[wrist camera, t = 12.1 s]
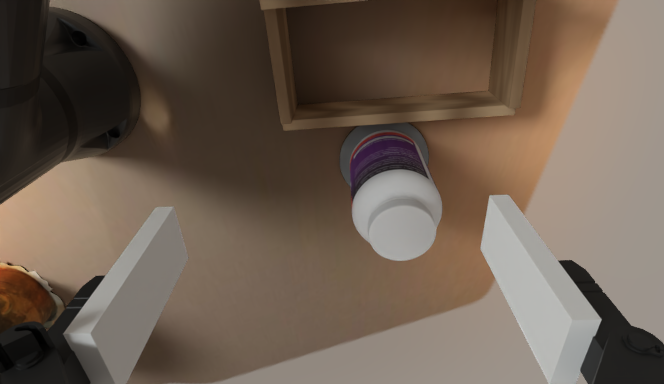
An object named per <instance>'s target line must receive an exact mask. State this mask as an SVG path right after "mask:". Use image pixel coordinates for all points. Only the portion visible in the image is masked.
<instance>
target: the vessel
mask: <svg viewBox="0 0 664 384" xmlns="http://www.w3.org/2000/svg"><path fill="white" fill-rule="evenodd" d="M50 290H52V288H51V287H49V286H48V282H47V281H45V280H43V279H42V278H41V277H40V276H39V275H38V274H37V273H36V271H31V272H27V271H26V270H25V269H24V268H22V267H21V266H9V265H7V264H5V263H0V334H1V333H2V332H4V331H5V330H7V329H9V328H11V327H13V326H15V325H18V324H21V323H24V322H31V321H35V322H39V323H41V324H42V325H43V326H44V328H50V327H51V326H52V325H53V324H54V321H53V320H57V319H58V317H59V316H60V315H61V313H62V312H63V311H64V310H65V308H64V305H63V302H62V300H61V299H60V298H59V297H58V296H57V295H55V294H53V293H51V292H49V291H50Z"/></svg>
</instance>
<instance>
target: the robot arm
mask: <svg viewBox="0 0 664 384" xmlns="http://www.w3.org/2000/svg"><path fill="white" fill-rule="evenodd" d="M49 3H50V0H0V204H2V203H3V202H5V201H6V200H8V199H9V198H10V197H12V196H13V195H15V194H16V193H18V192H19V191H20V190H22V189H23V188H25V187H26V186H28V185H29V184H31V183H32V182H33V181H35V180H36V179H38V178H39V177H41V176H42V175H43V174H45V173H46V172H48V171H49V170H51V169H52V168H53V167H55V166H56V165H58V164H59V163H61V162H66V161H71V160H77V159H82V158H88V157H93V156H97V155H100V154H102V153H105V152H107V151H109V150H110V149H112V148H113V147H115V146H116V145H117V144H119V143H120V142H121V141H123V140H124V139H125V138H126V137H127V136H128V135H129V134H130V133H131V131H132V130H133V128H134V126H135V124H136V122H137V120H138V116H139V112H140V90H139V85H138V82H137V78H136V75H135V73H134V70H133V68H132V66H131V64H130V62H129V61H128V59H127V57H126V56H125V54H124V53H123V51H122V50H121V49H120V47H119V46H118V45H117V44H116V43H115V41H114V40H113V39H112V38H111V37H110V36H109V35H108V34H107V33H105V32H104V31H103V30H102V29H101V28H99V27H98V26H97V25H95V24H94V23H92V22H91V21H89V20H87V19H86V18H84V17H82V16H80V15H78V14H75V13H73V12H70V11H67V10H64V9H60V8H55V7H49ZM480 249H481V251H482V253H483V255H484V257H485V259H486V261H487V263H488V265H489V267H490V269H491V271H492V273H493V275H494V277H495V279H496V281H497V283H498V284H499V286H500V288H501V290H502V292H503V294H504V296H505V298H506V300H507V302H508V304H509V306H510V308H511V310H512V312H513V314H514V316H515V318H516V320H517V322H518V324H519V326H520V328H521V330H522V332H523V334H524V336H525V338H526V340H527V342H528V344H529V346H530V348H531V350H532V352H533V354H534V356H535V358H536V360H537V362H538V364H539V365H540V367H541V369H542V371H543V373H544V375H545V377H546V379H547V381H548V383H549V384H576V382H577V379H578V377H579V375H580V372H581V373H582V374H583V376H584V378H585V379H586V381H587V383H588V384H664V344H663V343H662V342H661V341H660V340H659V339H658V338H656V337H655V336H654V335H653V334H651V333H649V332H647V331H645V330H643V329H640V328H637V327H634V326H631V325H630V324H629V322H628V321H627V320H626V319H625V317H624V316H623V315H622V314H621V312H620V311H619V310H618V309H617V308H616V306H615V305H614V304H613V303H612V301H611V300H610V299H609V298H608V297H607V296H606V294H605V293H603V292H602V289H601V288H600V287H599V285H598V284H596V283H595V281H594V279H593V278H592V277H591V276H590V274H589V273H588V272H587V271H586V270H585V269H584V268H582V267H581V266H579V265H578V264H576V263H575V262H573V261H572V260H563V261H558V260H557V259H556V258H555V256H554V255H553V254H552V252H551V251H550V250H549V248H548V247H547V246H546V244H545V243H544V242H543V240H542V239H541V238H540V236H539V235H538V234H537V232H536V231H535V229H534V228H533V227H532V225H531V224H530V223H529V221H528V220H527V219H526V217H525V216H524V215H523V213H522V212H521V211H520V209H519V208H518V207H517V205H516V204H515V203H514V201H513V200H512V199H511V197H510V196H509V195H490V196H489V202H488V207H487V213H486V219H485V225H484V231H483V237H482V242H481V248H480ZM187 260H188V255H187V251H186V248H185V244H184V240H183V237H182V233H181V230H180V226H179V223H178V219H177V216H176V212H175V209H174V207H156V208H155V209H154V210H153V212H152V213H151V215H150V216H149V217H148V219H147V220H146V221H145V223H144V224H143V226H142V227H141V228H140V230H139V231H138V232H137V234H136V235H135V236H134V238H133V239H132V241H131V242H130V243H129V245H128V246H127V247H126V249H125V250H124V251H123V253H122V254H121V256H120V257H119V258H118V260H117V261H116V262H115V264H114V265H113V266H112V268H111V269H110V271H109V272H108V273H107V275H106V276H95V277H94V278H93V279H91V280H90V281H89V282H88V283H86V284H85V285H84V286H82V288H81V289H80V290H79V292H78V293H77V294H76V295H75V297H74V300H72V301H71V302H70V303H69V304H68V306H67V309H65V310H64V311H63V312H62V313H61V315H60V316H59V317H58V319H57V320H56V321H55V322H54V324H53V325H52V326H51V328H50V329H49V330H48V331H46V330H45V328H44V326H43V325H42V324H41V323H39V322H35V321H31V322H24V323H21V324H18V325H15V326H13V327H11V328H9V329H7V330H5V331H4V332H2V333H1V334H0V384H126V383H127V381H128V379H129V377H130V375H131V373H132V371H133V369H134V367H135V365H136V363H137V361H138V359H139V357H140V355H141V353H142V351H143V349H144V347H145V345H146V343H147V341H148V339H149V337H150V335H151V333H152V331H153V329H154V327H155V325H156V323H157V321H158V319H159V317H160V315H161V313H162V311H163V309H164V307H165V305H166V303H167V301H168V299H169V297H170V294H171V292H172V290H173V288H174V286H175V284H176V282H177V280H178V278H179V276H180V274H181V272H182V270H183V268H184V266H185V264H186V262H187Z"/></svg>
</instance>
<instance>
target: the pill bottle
mask: <svg viewBox="0 0 664 384" xmlns="http://www.w3.org/2000/svg"><path fill="white" fill-rule="evenodd" d="M350 184H351V204H352V218H353V222H354V225H355V227H356V229H357V231H358V232H359V233H360V235H361V236H362V237H363V238H364V239H365V240H366V241H368V242H369V243H370V244H371V246H372V248H373V249H374V250H375V251H376V252H377V253H378V254H379V255H381V256H382V257H384V258H387V259H390V260H396V261H405V260H410V259H414V258H416V257H419V256H420V255H422V254H424V253H425V252H426V251H427V250H428V249H429V248H430V247H431V246H432V244H433V242H434V240H435V237H436V228H437V226H438V224H439V222H440V219H441V215H442V201H441V197H440V194H439V192H438V190H437V187H436V185H435V183H434V181H433V178H432V176H431V174H430V172H429V169H428V167H427V165H426V162H425V160H424V158H423V155H422V153H421V150H420V149H419V147H418V145H417V144H416V143H415V141H414V140H413V139H412V138H410V137H409V136H407V135H406V134H404V133H401V132H398V131H394V130H382V131H377V132H374V133H372V134H369V135H368V136H366V137H365V138H363V139H362V140H361V141H360V142H359V143H358V144H357V146H356V147H355V148H354V150H353V152H352V155H351V158H350Z"/></svg>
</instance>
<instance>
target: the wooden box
mask: <svg viewBox="0 0 664 384" xmlns="http://www.w3.org/2000/svg"><path fill="white" fill-rule="evenodd" d="M355 1H366V0H260V6H261V10H264V17H265V24H266V30H267V37H268V43H269V50H270V57H271V63H272V70H273V77H274V83H275V90H276V96H277V103H278V110H279V116H280V123H281V124H283V130H284V131H288V130H303V129H317V128H332V127H346V126H361V125H375V124H390V123H404V122H419V121H433V120H448V119H462V118H477V117H491V116H506V115H515V109H516V108H520V106H521V99H522V93H523V86H524V79H525V72H526V66H527V59H528V52H529V46H530V39H531V32H532V25H533V19H534V12H535V5H536V0H498V6H497V15H496V24H495V34H494V43H493V52H492V62H491V71H490V80H489V90H488V91H480V92H466V93H453V94H439V95H425V96H411V97H398V98H384V99H370V100H357V101H343V102H329V103H315V104H302V105H298V103H297V95H296V87H295V79H294V71H293V63H292V55H291V47H290V40H289V32H288V24H287V16H286V8H287V7H299V6H310V5H321V4H333V3H344V2H355Z"/></svg>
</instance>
